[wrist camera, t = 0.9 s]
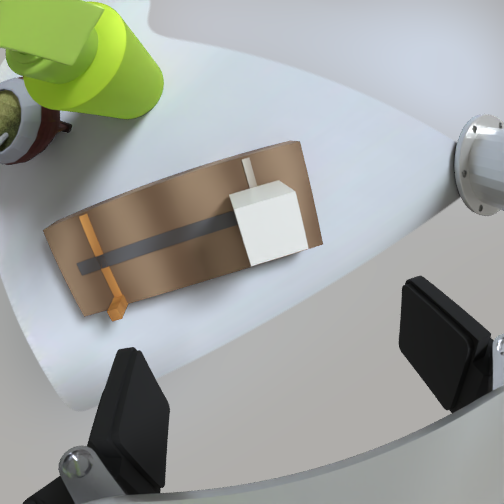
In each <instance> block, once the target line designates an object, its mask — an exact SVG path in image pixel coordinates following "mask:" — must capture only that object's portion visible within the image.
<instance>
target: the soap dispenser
mask: <svg viewBox="0 0 504 504" xmlns="http://www.w3.org/2000/svg"><path fill="white" fill-rule="evenodd" d="M0 48H4V49H6V60H7V63H8V65H9V67H10V68H11V70H12V71H14V72H15V73H17V74H19V75H22V76H23V79H24V84H25V87H26V89H27V91H28V93H29V95H30V96H31V98H32V99H33V100H34V101H35V102H37V103H38V104H39V105H41V106H43V107H45V108H48V109H53V110H62V111H70V112H78V113H86V114H93V115H100V116H107V117H114V118H120V119H133V118H137V117H140V116H142V115H144V114H146V113H147V112H149V111H150V110H151V109H152V108H153V107H154V106H155V105H156V104H157V102H158V101H159V99H160V97H161V94H162V91H163V85H164V80H163V75H162V72H161V70H160V68H159V67H158V65H157V64H156V63H155V61H154V60H153V59H152V57H151V56H150V55H149V53H148V52H147V51H146V49H145V48H144V47H143V45H142V44H141V43H140V41H139V40H138V39H137V37H136V36H135V35H134V33H133V32H132V31H131V30H130V28H129V27H128V26H127V24H126V23H125V22H124V20H123V19H122V18H121V17H120V15H119V14H118V13H117V12H116V11H115V10H114V9H112V8H111V7H109V6H107V5H105V4H102V3H98V2H85V1H82V0H0Z"/></svg>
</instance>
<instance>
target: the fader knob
mask: <svg viewBox="0 0 504 504" xmlns="http://www.w3.org/2000/svg"><path fill="white" fill-rule="evenodd" d="M229 196H230V200H231V203H232V206H233V210H234V213H235V216H236V219H237V223H238V226H239V229H240V233H241V236H242V239H243V242H244V245H245V249H246V252H247V255H248V258H249V261H250V264H251V266H254V265H257V264H260V263H264V262H267V261H270V260H273V259H276V258H280V257H283V256H286V255H289V254H293V253H296V252H299V251H302V250H305V249H308V244H307V239H306V235H305V230H304V226H303V221H302V217H301V213H300V208H299V204H298V200H297V196H296V192H295V191H294V190H293V189H291V188H290V187H288V186H287V185H285V184H284V183H282V182H281V181H279V180H278V181H274V182H271V183H267V184H264V185H260V186H257V187H253V188H250V189H246V190H243V191H240V192H236V193H233V194H230V195H229Z"/></svg>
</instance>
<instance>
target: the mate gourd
mask: <svg viewBox="0 0 504 504" xmlns="http://www.w3.org/2000/svg"><path fill="white" fill-rule="evenodd" d="M71 128H72V125H71V124H69V123H66V122H63V121H60V110H53V109H48V108H45V107H43V106H41V105H39V104H38V103H37V102H35V101H34V100H33V99H32V98H31V96H30V95H29V93H28V91H27V89H26V87H25V84H24V79H23V77H19V78H13V79H10V80H7V81H4V82H1V83H0V164H6V165H12V164H18V163H23V162H26V161H29V160H31V159H32V158H33V157H35V156H36V155H38V154H39V153H41V152H42V151H43V150H45V149H46V147H47V146H48V145H49V143H50V142H51V141H52V140H53V138H54V137H55V135H56V134H57V133H58V132H61V131H63V132H67V133H69V132H70V131H71Z"/></svg>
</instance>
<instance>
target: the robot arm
mask: <svg viewBox="0 0 504 504" xmlns="http://www.w3.org/2000/svg"><path fill="white" fill-rule="evenodd" d="M454 167H455V178H456V184H457V188H458V191H459V194H460V196H461V198H462V200H463V202H464V203H465V205H466V206H467V207H468V208H469V209H470V210H471V211H473V212H475V213H477V214H479V215H484V216H489V215H493V214H495V213H497V212H498V211H500V210H503V211H504V123H503V122H502V121H501V120H500V119H499V118H497V117H495V116H493V115H486V114H482V115H477V116H475V117H473V118H472V119H471V120H470V121H468V122H467V124H466V125H465V126H464V128H463V130H462V132H461V134H460V136H459V139H458V142H457V146H456V152H455V164H454ZM490 337H491V333H490V332H489V331H488V330H486V329H485V328H484V327H483V326H482V325H481V324H480V323H479V322H477V321H476V320H475V319H474V318H473V317H472V316H470V315H469V314H468V313H467V312H466V311H465V310H463V309H462V308H461V307H460V306H459V305H457V304H456V303H455V302H454V301H453V300H451V299H450V298H449V297H448V296H446V295H445V294H444V293H443V292H442V291H440V290H439V289H438V288H436V287H435V286H434V285H433V284H431V283H430V282H429V281H428V280H426V279H425V278H424V277H422V276H417V277H414V278H411V279H409V280H407V281H406V283H405V285H404V286H403V287H402V304H401V320H400V333H399V348H400V350H401V352H402V353H403V354H404V356H405V357H406V358H407V360H408V361H409V362H410V364H411V365H412V366H413V367H414V369H415V370H416V371H417V373H418V374H419V375H420V377H421V378H422V379H423V381H424V382H425V383H426V384H427V386H428V387H429V389H430V390H431V391H432V393H433V394H434V395H435V397H436V398H437V399H438V401H439V402H440V403H441V405H442V406H443V407H444V409H446V410H450V411H451V413H452V414H450V415H448V416H446V417H444V418H442V419H440V420H438V421H437V422H434V423H432V424H430V425H428V426H426V427H424V428H422V429H420V430H418V431H416V432H414V433H411V434H409V435H407V436H405V437H403V438H400V439H398V440H395V441H393V442H391V443H388V444H386V445H383V446H380V447H378V448H375V449H373V450H370V451H368V452H365V453H362V454H359V455H356V456H353V457H351V458H348V459H345V460H342V461H339V462H335V463H332V464H329V465H326V466H322V467H319V468H315V469H311V470H308V471H304V472H300V473H296V474H292V475H288V476H283V477H279V478H274V479H270V480H265V481H260V482H254V483H249V484H243V485H237V486H230V487H223V488H216V489H207V490H197V491H187V492H175V493H160V488H163V487H164V485H165V472H166V454H167V439H168V425H169V413H170V408H169V404H168V401H167V399H166V398H165V396H164V394H163V392H162V390H161V388H160V387H159V385H158V383H157V381H156V379H155V377H154V375H153V373H152V371H151V370H150V368H149V366H148V364H147V362H146V360H145V358H144V356H143V354H142V352H141V351H140V350H138V351H137V350H136V349H135V348H134V347H131V348H125V349H119V350H118V351H117V354H116V356H115V359H114V362H113V365H112V368H111V371H110V374H109V377H108V380H107V383H106V386H105V389H104V391H103V393H102V396H101V400H100V403H99V406H98V409H97V413H96V416H95V419H94V423H93V426H92V430H91V433H90V437H89V441H88V444H87V446H77V447H73V448H71V449H69V450H68V451H67V452H66V453H64V455H63V456H62V458H61V459H60V462H59V469H58V470H59V473H60V476H59V477H58V478H56V479H55V480H54V481H52V482H51V483H49V484H48V485H46V486H45V487H43V488H42V489H41V490H39V491H38V492H36V493H35V494H33V495H32V496H30V497H29V498H27V499H26V500H25V501H24V502H23V504H504V334H502V335H499V336H498V337H496V338H495V340H492V339H491V338H490Z"/></svg>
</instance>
